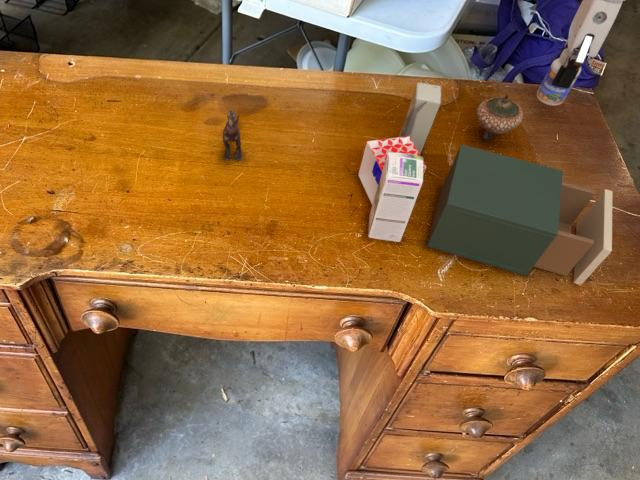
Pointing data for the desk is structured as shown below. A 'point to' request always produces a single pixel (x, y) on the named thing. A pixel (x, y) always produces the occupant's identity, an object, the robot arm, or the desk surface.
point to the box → (421, 114)
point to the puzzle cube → (381, 160)
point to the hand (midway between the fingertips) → (561, 76)
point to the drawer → (580, 234)
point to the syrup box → (395, 196)
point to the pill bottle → (546, 89)
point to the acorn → (499, 115)
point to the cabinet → (497, 210)
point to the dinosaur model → (232, 136)
